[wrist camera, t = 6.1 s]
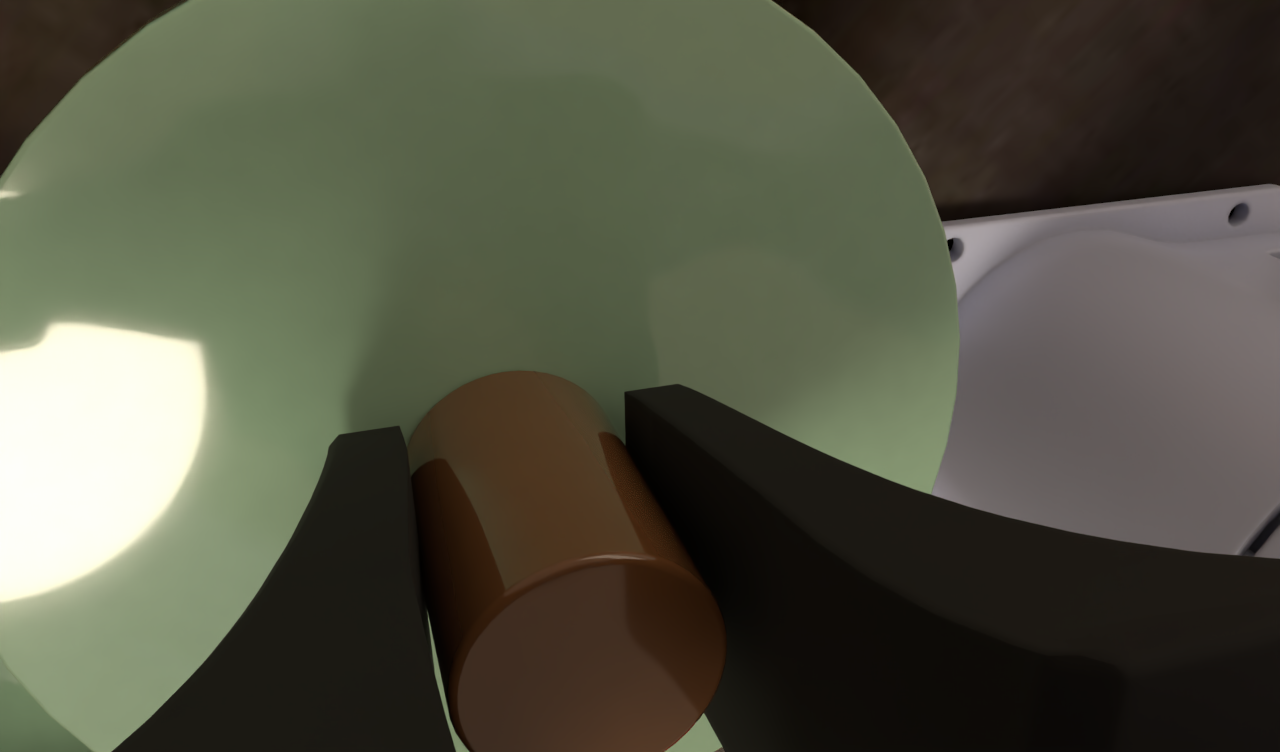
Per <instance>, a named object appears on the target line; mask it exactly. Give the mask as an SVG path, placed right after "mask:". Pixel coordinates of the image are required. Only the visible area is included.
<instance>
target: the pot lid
mask: <svg viewBox="0 0 1280 752" xmlns="http://www.w3.org/2000/svg"><path fill="white" fill-rule="evenodd" d="M959 348H960V332H959V318H958V303H957V289H956V282H955V277H954V272H953V268H952V263H951V258H950V253H949V249H948V244H947V239H946V234H945V230H944V227H943V225H942V222H941V219H940V216H939V214H938V211H937V208H936V206H935V203H934V200H933V197H932V195H931V192H930V189H929V186H928V184H927V181H926V178H925V175H924V174H923V172H922V170H921V168H920V166H919V164H918V163H917V161H916V159H915V157H914V155H913V153H912V151H911V150H910V148H909V146H908V144H907V142H906V140H905V139H904V137H903V135H902V133H901V131H900V129H899V127H898V126H897V124H896V122H895V121H894V120H893V118H892V117H891V116H890V115H889V113H888V112H887V111H886V109H885V108H884V107H883V105H882V104H881V103H880V101H879V100H878V99H877V97H876V96H875V95H874V93H873V92H872V91H871V89H870V88H869V87H868V85H867V84H866V83H865V81H864V80H863V79H862V77H861V76H860V75H859V74H858V73H857V72H856V71H855V70H854V69H853V68H852V67H851V66H850V65H849V64H848V63H847V62H846V61H845V60H844V59H843V58H842V57H841V56H840V55H839V54H838V53H837V52H836V51H835V50H834V49H833V48H832V47H831V46H830V45H829V44H828V43H826V42H825V41H824V40H823V39H822V38H821V37H820V36H819V35H818V34H817V33H816V32H815V31H814V30H813V29H812V28H810V27H809V26H807V25H806V24H805V23H803V22H802V21H800V20H799V19H798V18H796V17H795V16H794V15H792V14H791V13H789V12H788V11H787V10H785V9H784V8H782V7H781V6H780V5H778V4H777V3H775V2H774V1H773V0H182V1H180V2H178V3H176V4H175V5H173V6H171V7H170V8H168V9H166V10H165V11H163V12H161V13H159V14H158V15H156V16H154V17H153V18H151V19H150V20H149V21H147V22H146V23H145V24H144V25H142V26H141V27H140V28H139V29H138V30H136V31H135V32H134V33H133V34H131V35H130V36H129V37H128V38H126V39H125V40H124V41H123V42H121V43H120V44H119V45H118V46H117V47H115V48H114V49H113V50H112V51H110V52H109V53H108V54H107V55H105V56H104V57H103V58H102V59H100V60H99V61H98V62H97V63H96V64H94V65H93V66H92V67H91V68H89V69H88V70H87V71H86V72H85V73H84V74H83V75H82V76H81V78H80V79H79V80H78V81H77V82H76V83H75V84H74V85H73V86H72V87H71V89H70V90H69V91H68V92H67V93H66V94H65V95H64V96H63V97H62V98H61V100H60V101H59V102H58V103H57V104H56V105H55V106H54V107H53V108H52V109H51V111H50V112H49V113H48V114H47V115H46V116H45V117H44V118H43V119H42V120H41V121H40V123H39V124H38V125H37V126H36V127H35V128H34V129H33V130H32V131H31V133H30V134H29V135H28V136H27V138H26V139H25V140H24V142H23V143H22V145H21V146H20V148H19V149H18V151H17V152H16V154H15V155H14V157H13V158H12V160H11V161H10V163H9V164H8V166H7V167H6V169H5V170H4V172H3V173H2V175H1V176H0V659H1V660H2V662H3V663H4V665H5V666H6V668H7V669H8V670H9V672H10V673H11V674H12V675H13V676H14V677H15V678H16V679H17V680H18V682H19V683H20V684H21V685H22V686H23V687H24V688H25V689H26V690H27V691H28V693H29V694H30V695H31V696H32V697H33V698H34V699H35V700H36V701H37V703H38V704H39V705H40V706H41V707H42V708H43V709H44V710H45V711H46V713H47V714H48V715H49V716H50V717H52V718H53V719H54V720H55V721H56V722H58V723H59V724H60V725H61V726H62V727H64V728H65V729H66V730H67V731H69V732H70V733H71V734H72V735H73V736H75V737H76V738H77V739H78V740H79V741H81V742H82V743H83V744H84V745H85V746H87V747H88V748H89V749H90V750H91V751H93V752H112V751H113V750H114V749H115V748H116V747H117V746H118V745H120V744H121V743H122V742H123V741H124V740H125V739H126V738H128V737H129V736H130V735H131V734H132V733H133V732H134V731H136V730H137V729H138V728H139V727H140V726H141V725H142V724H143V723H145V722H146V721H147V720H148V719H149V718H150V717H151V716H152V715H153V714H154V713H155V712H156V711H157V710H158V709H159V708H160V707H161V706H162V705H163V704H164V703H165V702H166V701H167V700H168V699H169V698H170V697H171V696H172V695H173V694H174V693H175V692H176V691H177V690H178V689H179V688H180V687H181V686H182V685H183V684H184V683H185V682H186V681H187V680H188V679H189V678H190V676H191V675H192V674H193V673H194V672H195V671H196V670H197V669H198V668H199V667H200V666H201V665H202V663H203V662H204V661H205V660H206V659H207V658H208V657H209V655H210V654H211V653H212V652H213V651H214V649H215V648H216V647H217V646H218V644H219V643H220V642H221V641H222V639H223V638H224V637H225V636H226V634H227V633H228V632H229V631H230V629H231V628H232V627H233V626H234V624H235V623H236V622H237V620H238V619H239V618H240V616H241V615H242V613H243V612H244V611H245V609H246V608H247V606H248V605H249V604H250V602H251V601H252V600H253V598H254V597H255V595H256V594H257V592H258V591H259V589H260V587H261V586H262V584H263V583H264V581H265V579H266V578H267V576H268V575H269V573H270V571H271V570H272V568H273V567H274V565H275V563H276V562H277V560H278V559H279V557H280V555H281V554H282V552H283V551H284V549H285V547H286V546H287V544H288V542H289V540H290V538H291V537H292V535H293V533H294V531H295V529H296V527H297V525H298V523H299V521H300V519H301V517H302V515H303V513H304V511H305V509H306V507H307V505H308V503H309V501H310V499H311V497H312V494H313V492H314V490H315V487H316V485H317V483H318V480H319V478H320V475H321V473H322V470H323V467H324V464H325V461H326V458H327V454H328V448H329V445H330V444H331V443H332V442H333V441H334V440H335V438H336V437H337V436H338V435H339V434H346V433H352V432H359V431H366V430H372V429H379V428H386V427H392V426H400V429H401V431H402V434H403V437H404V440H405V443H406V447H407V450H408V459H409V467H410V475H411V483H412V491H413V499H414V507H415V515H416V523H417V532H418V541H419V553H420V566H421V576H422V586H423V592H424V597H425V602H426V607H427V613H428V621H429V629H430V637H431V645H432V653H433V661H434V670H435V677H436V681H437V685H438V688H439V692H440V696H441V700H442V704H443V707H444V711H445V715H446V719H447V722H448V726H449V729H450V733H451V736H452V739H453V743H454V746H455V750H456V752H716V751H717V750H719V749H721V748H722V745H721V743H720V741H719V740H718V738H717V736H716V734H715V732H714V730H713V729H712V727H711V725H710V723H709V721H708V719H707V718H706V716H705V714H704V712H705V710H706V709H707V708H708V706H709V704H710V703H711V701H712V699H713V697H714V695H715V693H716V692H717V689H718V687H719V684H720V681H721V679H722V676H723V672H724V668H725V664H726V655H727V629H726V624H725V620H724V615H723V613H722V611H721V608H720V606H719V603H718V601H717V600H716V598H715V596H714V595H713V593H712V591H711V589H710V588H709V586H708V584H707V583H706V581H705V579H704V578H703V576H702V574H701V573H700V571H699V569H698V568H697V566H696V564H695V563H694V561H693V559H692V557H691V556H690V554H689V552H688V551H687V549H686V547H685V546H684V544H683V542H682V541H681V539H680V537H679V536H678V534H677V532H676V530H675V529H674V527H673V525H672V524H671V522H670V520H669V519H668V517H667V515H666V514H665V512H664V510H663V509H662V507H661V505H660V504H659V502H658V500H657V498H656V497H655V495H654V493H653V492H652V490H651V488H650V487H649V485H648V483H647V482H646V480H645V478H644V477H643V475H642V473H641V472H640V470H639V468H638V466H637V465H636V463H635V461H634V460H633V458H632V456H631V455H630V453H629V451H628V450H627V448H626V444H625V400H624V392H626V391H633V390H639V389H646V388H653V387H659V386H666V385H673V384H680V385H683V386H686V387H688V388H691V389H693V390H696V391H698V392H700V393H702V394H704V395H706V396H709V397H711V398H713V399H715V400H717V401H719V402H721V403H723V404H725V405H727V406H729V407H731V408H733V409H735V410H737V411H739V412H741V413H743V414H745V415H747V416H749V417H751V418H753V419H755V420H757V421H759V422H761V423H763V424H765V425H767V426H769V427H771V428H773V429H775V430H777V431H779V432H781V433H783V434H785V435H787V436H789V437H791V438H793V439H795V440H797V441H800V442H802V443H804V444H806V445H808V446H810V447H812V448H815V449H817V450H819V451H821V452H823V453H826V454H828V455H830V456H832V457H835V458H837V459H839V460H841V461H844V462H846V463H849V464H851V465H854V466H856V467H858V468H861V469H863V470H866V471H868V472H871V473H873V474H875V475H878V476H880V477H883V478H885V479H888V480H890V481H893V482H896V483H899V484H901V485H904V486H907V487H910V488H912V489H915V490H918V491H921V492H925V493H928V494H932V491H933V488H934V485H935V481H936V478H937V475H938V472H939V469H940V465H941V462H942V459H943V456H944V453H945V450H946V446H947V442H948V437H949V432H950V426H951V421H952V416H953V410H954V405H955V400H956V394H957V381H958V365H959Z"/></svg>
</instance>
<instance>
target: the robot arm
mask: <svg viewBox="0 0 1280 752" xmlns="http://www.w3.org/2000/svg"><path fill="white" fill-rule="evenodd" d="M1234 207H1235V210H1234V212H1233V214H1232V215H1231V216H1230V217H1229V218H1228V216H1229V214H1230V212H1231V210H1232V209H1233V208H1234ZM942 225H943V227H944V230H945V234H946V239H947V240H949V239H952V238H953V241H954V243H953V246H952V249H951V250H950V251H949V253H950V258H951V263H952V268H953V272H954V277H955V282H956V289H957V303H958V318H959V332H960V348H959V365H958V381H957V394H956V400H955V405H954V410H953V416H952V421H951V426H950V432H949V437H948V442H947V446H946V450H945V453H944V456H943V459H942V462H941V465H940V469H939V472H938V475H937V478H936V481H935V485H934V488H933V491H932V494H928V493H925V492H921V491H918V490H915V489H912V488H910V487H907V486H904V485H901V484H899V483H896V482H893V481H890V480H888V479H885V478H883V477H880V476H878V475H875V474H873V473H871V472H868V471H866V470H863V469H861V468H858V467H856V466H854V465H851V464H849V463H846V462H844V461H841V460H839V459H837V458H835V457H832V456H830V455H828V454H826V453H823V452H821V451H819V450H817V449H815V448H812V447H810V446H808V445H806V444H804V443H802V442H800V441H797V440H795V439H793V438H791V437H789V436H787V435H785V434H783V433H781V432H779V431H777V430H775V429H773V428H771V427H769V426H767V425H765V424H763V423H761V422H759V421H757V420H755V419H753V418H751V417H749V416H747V415H745V414H743V413H741V412H739V411H737V410H735V409H733V408H731V407H729V406H727V405H725V404H723V403H721V402H719V401H717V400H715V399H713V398H711V397H709V396H706V395H704V394H702V393H700V392H698V391H696V390H693V389H691V388H688V387H686V386H683V385H680V384H673V385H666V386H659V387H653V388H646V389H639V390H633V391H626V392H624V400H625V444H626V448H627V450H628V451H629V453H630V455H631V456H632V458H633V460H634V461H635V463H636V465H637V466H638V468H639V470H640V472H641V473H642V475H643V477H644V478H645V480H646V482H647V483H648V485H649V487H650V488H651V490H652V492H653V493H654V495H655V497H656V498H657V500H658V502H659V504H660V505H661V507H662V509H663V510H664V512H665V514H666V515H667V517H668V519H669V520H670V522H671V524H672V525H673V527H674V529H675V530H676V532H677V534H678V536H679V537H680V539H681V541H682V542H683V544H684V546H685V547H686V549H687V551H688V552H689V554H690V556H691V557H692V559H693V561H694V563H695V564H696V566H697V568H698V569H699V571H700V573H701V574H702V576H703V578H704V579H705V581H706V583H707V584H708V586H709V588H710V589H711V591H712V593H713V595H714V596H715V598H716V600H717V601H718V603H719V606H720V608H721V611H722V613H723V615H724V620H725V624H726V629H727V655H726V664H725V668H724V672H723V676H722V679H721V681H720V684H719V687H718V689H717V692H716V693H715V695H714V697H713V699H712V701H711V703H710V704H709V706H708V708H707V709H706V710H705V712H704V714H705V716H706V718H707V719H708V721H709V723H710V725H711V727H712V729H713V730H714V732H715V734H716V736H717V738H718V740H719V741H720V743H721V745H722V747H723V749H724V750H725V752H1280V186H1278V185H1274V184H1263V185H1255V186H1246V187H1237V188H1229V189H1220V190H1211V191H1203V192H1194V193H1185V194H1177V195H1168V196H1160V197H1151V198H1142V199H1134V200H1125V201H1116V202H1108V203H1099V204H1090V205H1082V206H1073V207H1064V208H1056V209H1047V210H1039V211H1030V212H1021V213H1013V214H1004V215H995V216H987V217H978V218H969V219H961V220H952V221H943V222H942ZM112 752H456V750H455V746H454V743H453V739H452V736H451V733H450V729H449V726H448V722H447V719H446V715H445V711H444V707H443V704H442V700H441V696H440V692H439V688H438V685H437V681H436V677H435V670H434V661H433V653H432V645H431V637H430V629H429V621H428V613H427V607H426V602H425V597H424V592H423V586H422V576H421V566H420V553H419V541H418V532H417V523H416V515H415V507H414V499H413V491H412V483H411V475H410V467H409V459H408V450H407V447H406V443H405V440H404V437H403V434H402V431H401V429H400V426H392V427H386V428H379V429H372V430H366V431H359V432H352V433H346V434H339V435H338V436H337V437H336V438H335V440H334V441H333V442H332V443H331V444H330V445H329V448H328V454H327V458H326V461H325V464H324V467H323V470H322V473H321V475H320V478H319V480H318V483H317V485H316V487H315V490H314V492H313V494H312V497H311V499H310V501H309V503H308V505H307V507H306V509H305V511H304V513H303V515H302V517H301V519H300V521H299V523H298V525H297V527H296V529H295V531H294V533H293V535H292V537H291V538H290V540H289V542H288V544H287V546H286V547H285V549H284V551H283V552H282V554H281V555H280V557H279V559H278V560H277V562H276V563H275V565H274V567H273V568H272V570H271V571H270V573H269V575H268V576H267V578H266V579H265V581H264V583H263V584H262V586H261V587H260V589H259V591H258V592H257V594H256V595H255V597H254V598H253V600H252V601H251V602H250V604H249V605H248V606H247V608H246V609H245V611H244V612H243V613H242V615H241V616H240V618H239V619H238V620H237V622H236V623H235V624H234V626H233V627H232V628H231V629H230V631H229V632H228V633H227V634H226V636H225V637H224V638H223V639H222V641H221V642H220V643H219V644H218V646H217V647H216V648H215V649H214V651H213V652H212V653H211V654H210V655H209V657H208V658H207V659H206V660H205V661H204V662H203V663H202V665H201V666H200V667H199V668H198V669H197V670H196V671H195V672H194V673H193V674H192V675H191V676H190V678H189V679H188V680H187V681H186V682H185V683H184V684H183V685H182V686H181V687H180V688H179V689H178V690H177V691H176V692H175V693H174V694H173V695H172V696H171V697H170V698H169V699H168V700H167V701H166V702H165V703H164V704H163V705H162V706H161V707H160V708H159V709H158V710H157V711H156V712H155V713H154V714H153V715H152V716H151V717H150V718H149V719H148V720H147V721H146V722H145V723H143V724H142V725H141V726H140V727H139V728H138V729H137V730H136V731H134V732H133V733H132V734H131V735H130V736H129V737H128V738H126V739H125V740H124V741H123V742H122V743H121V744H120V745H118V746H117V747H116V748H115V749H114V750H113V751H112Z"/></svg>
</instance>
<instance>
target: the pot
mask: <svg viewBox="0 0 1280 752" xmlns="http://www.w3.org/2000/svg"><path fill="white" fill-rule="evenodd" d="M0 752H93V751H91V750H90V749H89V748H88V747H87V746H85V745H84V744H83V743H82V742H81V741H79V740H78V739H77V738H76V737H75V736H73V735H72V734H71V733H70V732H69V731H67V730H66V729H65V728H64V727H62V726H61V725H60V724H59V723H58V722H56V721H55V720H54V719H53V718H52V717H50V716H49V715H48V714H47V713H46V711H45V710H44V709H43V708H42V707H41V706H40V705H39V704H38V703H37V701H36V700H35V699H34V698H33V697H32V696H31V695H30V694H29V693H28V691H27V690H26V689H25V688H24V687H23V686H22V685H21V684H20V683H19V682H18V680H17V679H16V678H15V677H14V676H13V675H12V674H11V673H10V672H9V670H8V669H7V668H6V666H5V665H4V663H3V662H2V660H1V659H0Z"/></svg>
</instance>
